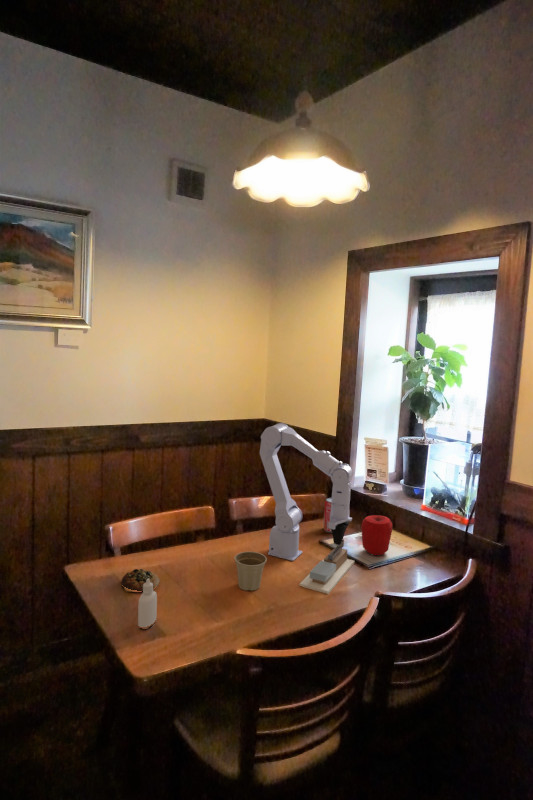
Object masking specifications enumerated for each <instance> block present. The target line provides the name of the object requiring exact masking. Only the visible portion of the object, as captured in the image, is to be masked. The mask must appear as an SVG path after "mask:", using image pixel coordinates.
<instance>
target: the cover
mask: <svg viewBox="0 0 533 800" xmlns="http://www.w3.org/2000/svg"><path fill="white" fill-rule="evenodd" d="M335 571H336V564H333V563H329V562H325V561H323V560H320V561H319V562H318V563H316V565H314V567H313V568H312V569H311V570H310V571H309V574H310V578H312V579H315V580H319V581H323V582H326V581H327V580H328V579H329V578H330V577H331V575H332V574H333V573H334V572H335Z"/></svg>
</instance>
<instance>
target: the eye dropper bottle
mask: <svg viewBox="0 0 533 800" xmlns="http://www.w3.org/2000/svg"><path fill="white" fill-rule="evenodd" d="M137 608H138V609H137V610H138V612H137V614H138V615H137V616H138V617H137V622H138V623H137V627H138V626H140V627H147V626H150V625H151V624H153V623H154V622H155V620H156V621H157V619H156V618H157V617H158V616H157V614H158V612H157V611H158V610H157V609H158V595H157V591H155V590H153V583H151V582H150V579H147V580H146V583H144V584H143V592H142V593H141V595H140V596H139V598H138V607H137Z"/></svg>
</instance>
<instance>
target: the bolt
mask: <svg viewBox="0 0 533 800" xmlns="http://www.w3.org/2000/svg"><path fill="white" fill-rule="evenodd" d="M344 546H345V538H343V540H342V543H341V544H340V545H338V544H335V547H336V548H335V547H334V548H335V549H334V548H333V549H334V550H333V549H332V550H333V551H332V550H331V551H332V552H331V553H330V552H329V553H330V554H329V553H328V554H329V555H328V554H327V555H328V559H330V560H333V559H334V558H335V557H336V556H337V555H338V554H339V553H340V552H341V551H342V549H343V548H344Z"/></svg>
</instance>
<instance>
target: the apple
mask: <svg viewBox="0 0 533 800" xmlns="http://www.w3.org/2000/svg"><path fill="white" fill-rule="evenodd" d="M392 532H393V523H392V521H391V519H390V518H389V517H387V516H384V515H378V514H377V515H374V514H373V515H368V516H366V517H365V518H364V519H363V520H362V521H361V541H362V542H361V543H362V548H363V549H364V550H365V551H366V552H367V553H368V554H369V553H370V554H369V555H371V554H373V555H372V556H375V555H380V556H383V555H384V554H386V553H387V552H388V551H389V549H390V548H389V547H390V542H391V537H392Z"/></svg>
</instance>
